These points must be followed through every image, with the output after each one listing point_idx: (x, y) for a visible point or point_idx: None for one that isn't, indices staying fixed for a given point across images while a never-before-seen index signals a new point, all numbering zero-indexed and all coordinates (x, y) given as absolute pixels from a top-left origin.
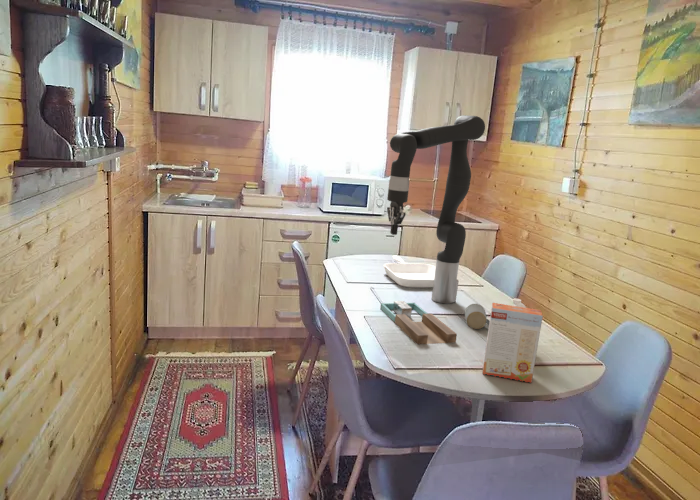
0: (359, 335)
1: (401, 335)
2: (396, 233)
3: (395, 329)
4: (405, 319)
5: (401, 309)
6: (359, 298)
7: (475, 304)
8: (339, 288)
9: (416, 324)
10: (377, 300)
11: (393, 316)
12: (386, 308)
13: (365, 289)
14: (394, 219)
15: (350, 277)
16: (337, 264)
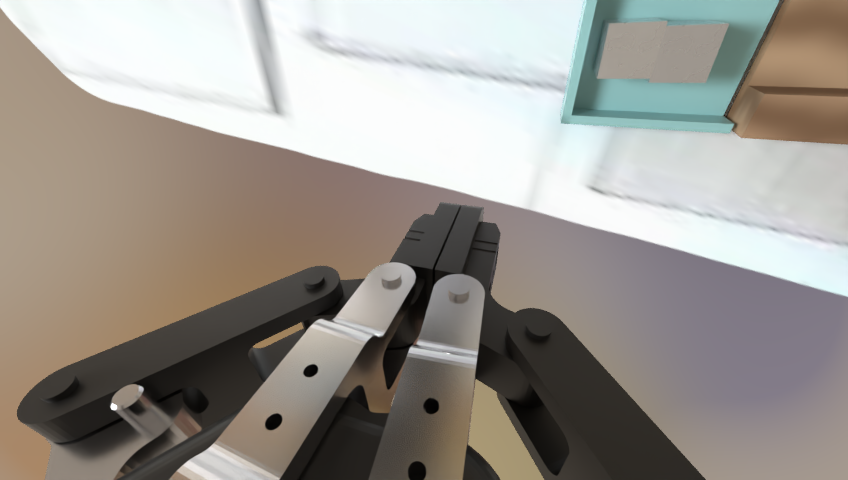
0: (734, 264)
1: None
2: (496, 226)
3: None
4: (827, 122)
5: (697, 81)
6: (428, 135)
7: None
8: (340, 161)
9: (814, 33)
10: (451, 76)
11: (711, 130)
12: (624, 126)
13: (336, 74)
14: (471, 412)
15: (222, 80)
16: (106, 74)
